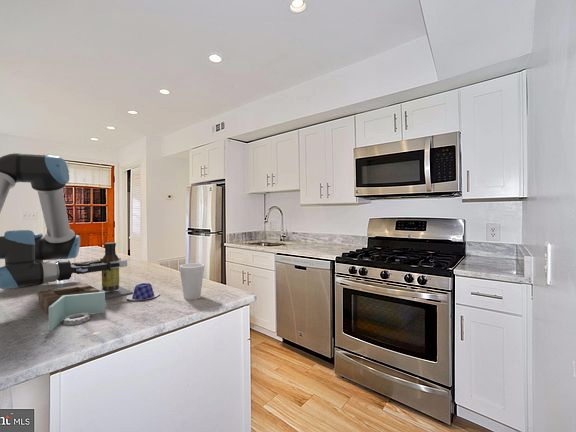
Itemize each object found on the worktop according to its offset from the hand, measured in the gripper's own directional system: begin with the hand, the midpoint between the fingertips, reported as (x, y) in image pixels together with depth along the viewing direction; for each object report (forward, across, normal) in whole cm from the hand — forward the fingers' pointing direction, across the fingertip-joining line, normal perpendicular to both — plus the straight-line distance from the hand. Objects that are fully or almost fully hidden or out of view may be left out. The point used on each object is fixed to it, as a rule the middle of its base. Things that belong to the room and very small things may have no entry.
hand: (123, 262), depth 123 cm
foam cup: (+14, +31, -13) cm, 36 cm away
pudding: (+2, +15, -13) cm, 20 cm away
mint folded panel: (-22, +24, -13) cm, 35 cm away
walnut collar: (-20, +3, -13) cm, 24 cm away
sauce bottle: (-5, 0, -11) cm, 12 cm away
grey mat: (-5, 0, -13) cm, 14 cm away
